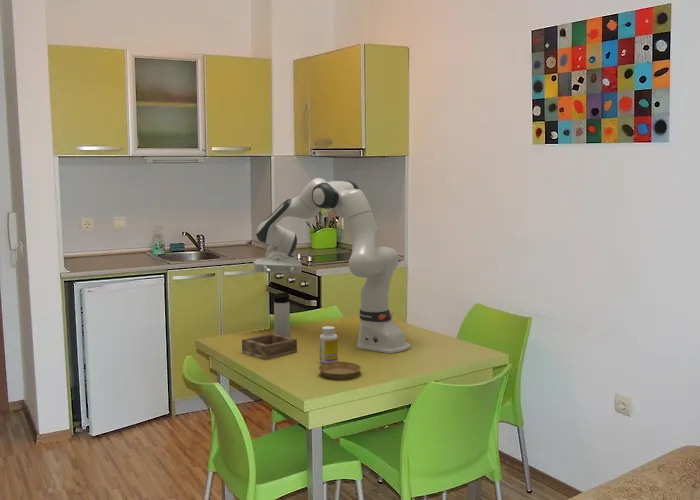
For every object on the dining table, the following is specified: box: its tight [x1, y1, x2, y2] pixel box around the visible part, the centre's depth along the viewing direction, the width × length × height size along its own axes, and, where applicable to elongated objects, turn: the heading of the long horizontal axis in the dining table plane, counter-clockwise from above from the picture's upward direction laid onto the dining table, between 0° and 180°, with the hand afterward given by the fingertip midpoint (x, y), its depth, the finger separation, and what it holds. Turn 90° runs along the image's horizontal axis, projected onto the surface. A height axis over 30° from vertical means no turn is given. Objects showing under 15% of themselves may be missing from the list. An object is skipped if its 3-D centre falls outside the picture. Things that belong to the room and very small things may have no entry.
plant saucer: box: [318, 361, 362, 380], centre depth 250 cm, size 15×15×3 cm
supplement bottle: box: [319, 325, 339, 364], centre depth 264 cm, size 7×7×13 cm
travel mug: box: [273, 291, 291, 338], centre depth 293 cm, size 6×7×20 cm
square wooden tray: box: [241, 332, 298, 360], centre depth 278 cm, size 15×15×5 cm
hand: (279, 272), depth 301 cm, fingers open, 8 cm apart
